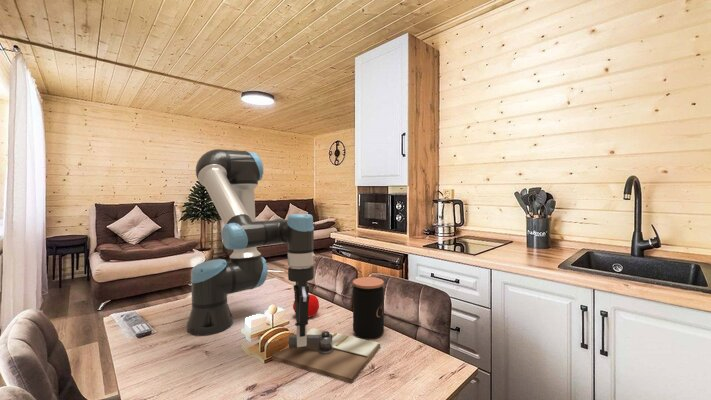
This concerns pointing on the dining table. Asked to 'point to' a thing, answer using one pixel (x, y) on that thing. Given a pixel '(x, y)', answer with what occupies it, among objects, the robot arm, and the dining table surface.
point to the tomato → (311, 305)
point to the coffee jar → (368, 307)
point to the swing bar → (314, 341)
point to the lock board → (332, 356)
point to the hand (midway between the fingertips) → (301, 345)
